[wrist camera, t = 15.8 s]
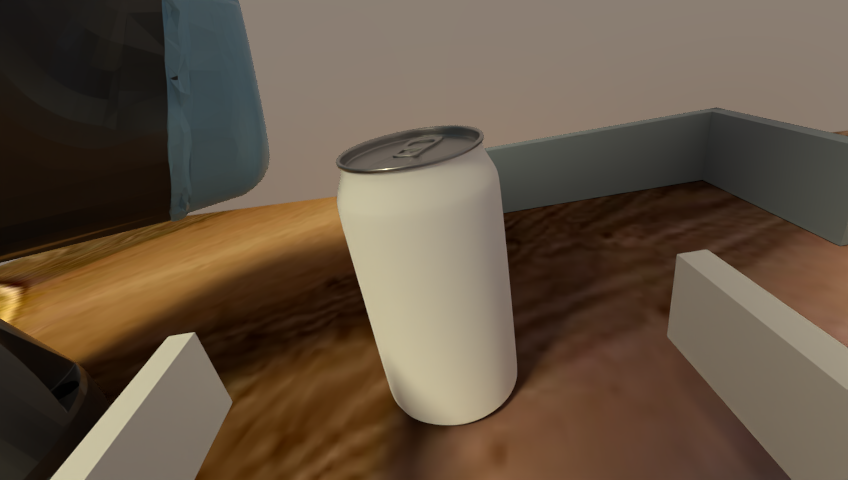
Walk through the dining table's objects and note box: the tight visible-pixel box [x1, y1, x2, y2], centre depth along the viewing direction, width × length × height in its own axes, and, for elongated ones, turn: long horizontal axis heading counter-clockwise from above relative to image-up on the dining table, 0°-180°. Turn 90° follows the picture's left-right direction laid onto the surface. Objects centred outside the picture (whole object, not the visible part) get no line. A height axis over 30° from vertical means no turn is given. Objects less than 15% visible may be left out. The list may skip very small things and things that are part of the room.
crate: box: [484, 108, 848, 246], centre depth 30 cm, size 14×24×6 cm, turn 91°
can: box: [336, 125, 517, 425], centre depth 18 cm, size 6×6×12 cm
